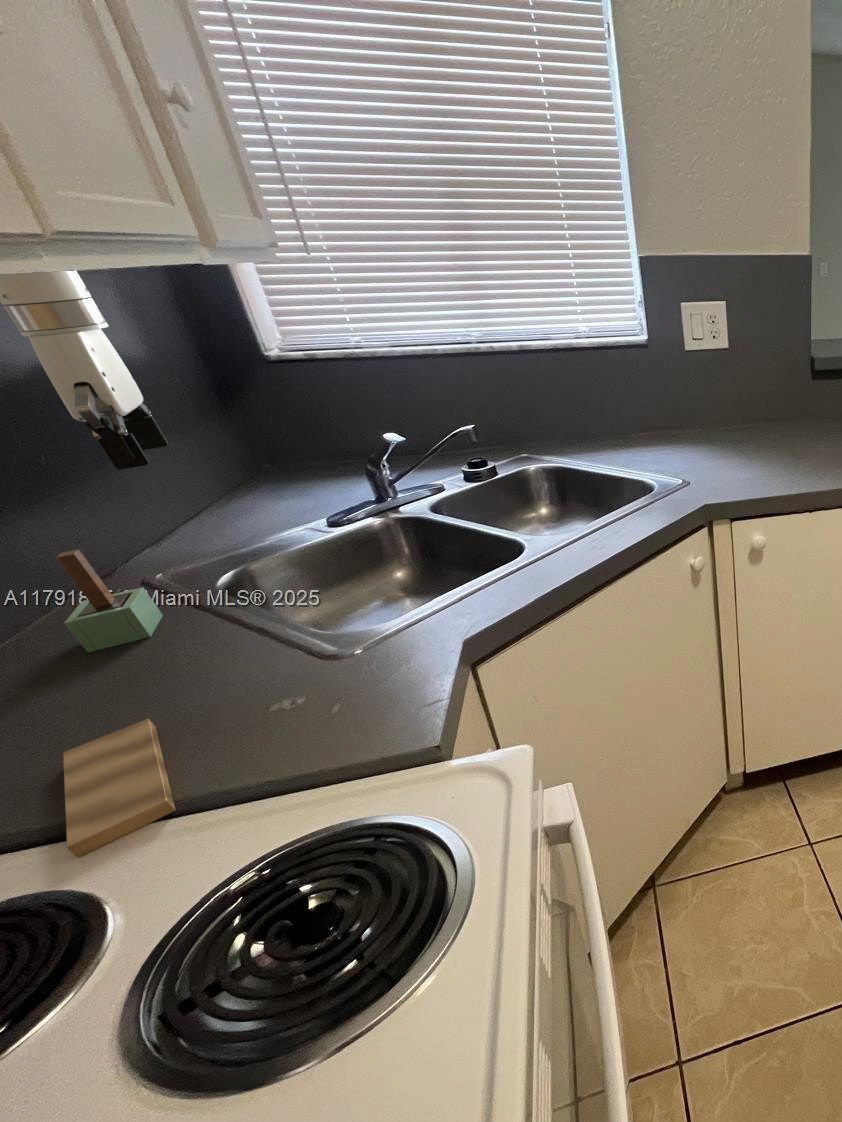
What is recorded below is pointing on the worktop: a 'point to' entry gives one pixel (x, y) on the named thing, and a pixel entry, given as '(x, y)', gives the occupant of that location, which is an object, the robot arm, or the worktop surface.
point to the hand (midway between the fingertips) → (144, 456)
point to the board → (114, 787)
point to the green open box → (115, 622)
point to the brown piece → (89, 583)
